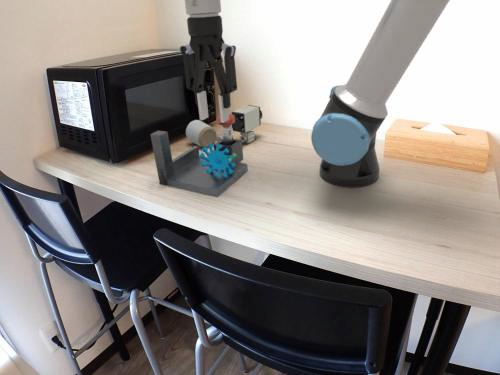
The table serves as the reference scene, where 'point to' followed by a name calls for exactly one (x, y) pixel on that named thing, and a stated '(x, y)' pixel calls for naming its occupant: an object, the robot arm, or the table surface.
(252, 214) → the table surface
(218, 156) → the blue lobed star wheel
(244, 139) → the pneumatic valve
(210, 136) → the ceramic mug
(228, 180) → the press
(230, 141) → the plunger
